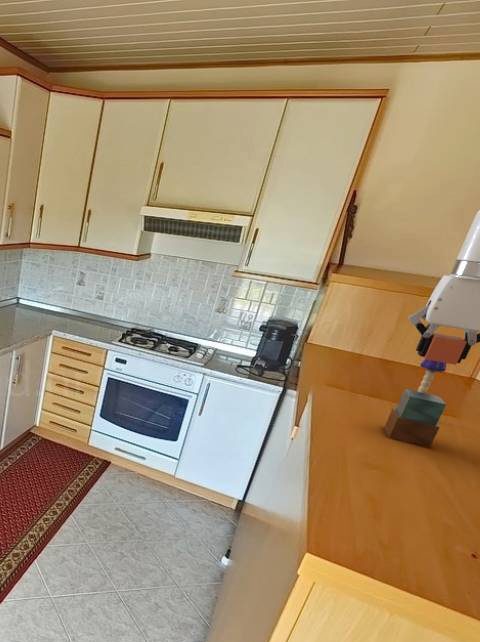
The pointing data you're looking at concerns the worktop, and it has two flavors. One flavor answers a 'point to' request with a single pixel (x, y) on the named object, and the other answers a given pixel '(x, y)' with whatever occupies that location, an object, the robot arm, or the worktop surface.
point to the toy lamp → (430, 373)
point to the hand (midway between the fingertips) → (438, 357)
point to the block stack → (415, 418)
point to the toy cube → (445, 348)
